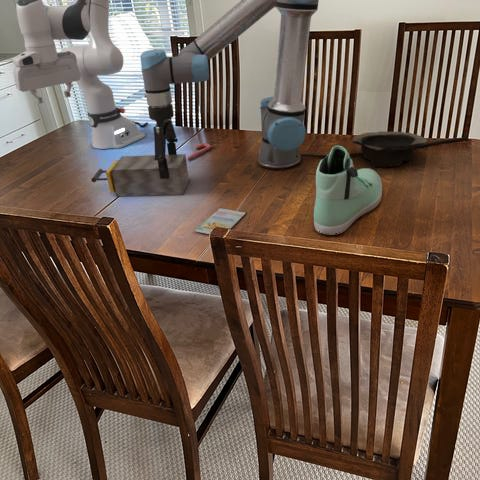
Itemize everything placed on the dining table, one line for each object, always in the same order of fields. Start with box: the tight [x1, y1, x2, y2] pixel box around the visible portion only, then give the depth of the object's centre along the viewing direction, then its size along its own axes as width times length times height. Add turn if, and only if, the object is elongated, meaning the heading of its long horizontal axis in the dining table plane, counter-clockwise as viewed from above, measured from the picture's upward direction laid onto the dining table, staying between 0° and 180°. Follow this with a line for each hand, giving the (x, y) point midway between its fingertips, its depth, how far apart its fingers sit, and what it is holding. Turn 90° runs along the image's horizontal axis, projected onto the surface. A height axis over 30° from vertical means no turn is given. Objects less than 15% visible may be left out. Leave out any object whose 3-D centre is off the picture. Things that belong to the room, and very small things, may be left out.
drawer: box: [91, 159, 119, 194], centre depth 159 cm, size 27×10×7 cm, turn 85°
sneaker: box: [313, 145, 383, 236], centre depth 133 cm, size 14×35×20 cm, turn 152°
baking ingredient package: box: [194, 207, 246, 235], centre depth 137 cm, size 9×1×15 cm
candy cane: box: [186, 143, 212, 161], centre depth 185 cm, size 6×15×2 cm, turn 145°
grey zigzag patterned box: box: [111, 153, 190, 198], centre depth 158 cm, size 22×12×9 cm, turn 85°
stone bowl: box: [351, 131, 429, 168], centre depth 166 cm, size 25×25×9 cm
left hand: (54, 99), depth 157 cm, fingers open, 8 cm apart
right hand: (169, 169), depth 157 cm, fingers open, 13 cm apart
